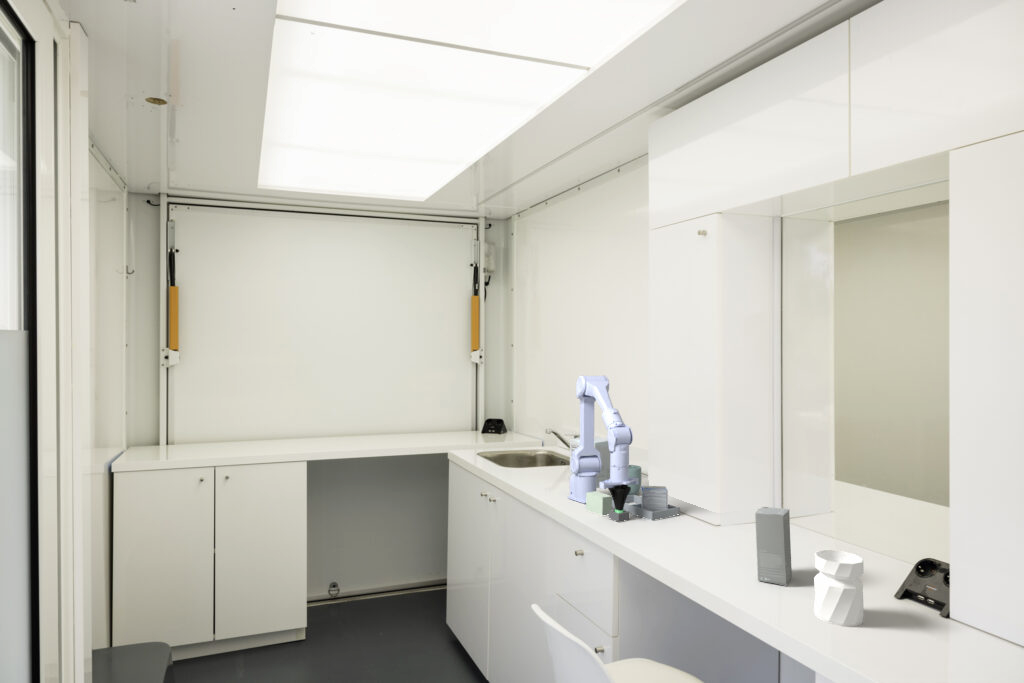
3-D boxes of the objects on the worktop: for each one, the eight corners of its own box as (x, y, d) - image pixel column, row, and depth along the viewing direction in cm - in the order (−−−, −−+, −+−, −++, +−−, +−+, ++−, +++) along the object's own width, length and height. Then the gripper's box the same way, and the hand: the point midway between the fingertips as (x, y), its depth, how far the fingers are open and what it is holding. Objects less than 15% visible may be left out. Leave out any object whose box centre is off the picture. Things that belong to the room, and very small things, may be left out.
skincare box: (787, 587, 142) (787, 516, 142) (753, 580, 146) (753, 511, 146) (793, 576, 149) (793, 508, 149) (760, 570, 153) (761, 504, 153)
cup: (644, 493, 233) (644, 466, 233) (636, 497, 226) (636, 469, 226) (624, 490, 237) (624, 464, 237) (616, 494, 230) (616, 467, 230)
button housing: (608, 518, 198) (609, 510, 198) (619, 516, 200) (619, 508, 200) (618, 522, 194) (618, 513, 194) (629, 520, 196) (629, 512, 196)
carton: (586, 511, 207) (586, 492, 207) (595, 509, 209) (595, 491, 209) (602, 516, 200) (602, 497, 201) (611, 515, 203) (612, 496, 203)
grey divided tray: (607, 506, 213) (607, 498, 213) (633, 501, 220) (633, 494, 220) (652, 520, 196) (652, 512, 196) (679, 515, 203) (679, 507, 203)
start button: (613, 518, 197) (613, 509, 197) (619, 517, 199) (619, 508, 199) (618, 520, 195) (618, 511, 195) (625, 519, 197) (625, 510, 197)
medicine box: (665, 513, 205) (666, 486, 206) (667, 516, 201) (668, 489, 201) (641, 512, 206) (641, 485, 206) (642, 515, 202) (642, 488, 202)
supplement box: (590, 478, 258) (591, 435, 259) (616, 484, 249) (617, 439, 249) (568, 483, 249) (569, 438, 250) (594, 489, 240) (595, 442, 240)
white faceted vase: (827, 626, 122) (827, 563, 122) (806, 608, 131) (806, 549, 131) (872, 627, 122) (873, 564, 122) (848, 608, 131) (848, 549, 131)
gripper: (610, 470, 190) (610, 515, 190) (645, 465, 198) (645, 509, 198) (595, 466, 196) (594, 510, 196) (629, 462, 204) (629, 504, 203)
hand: (619, 509), depth 197 cm, fingers closed, pressing on start button
